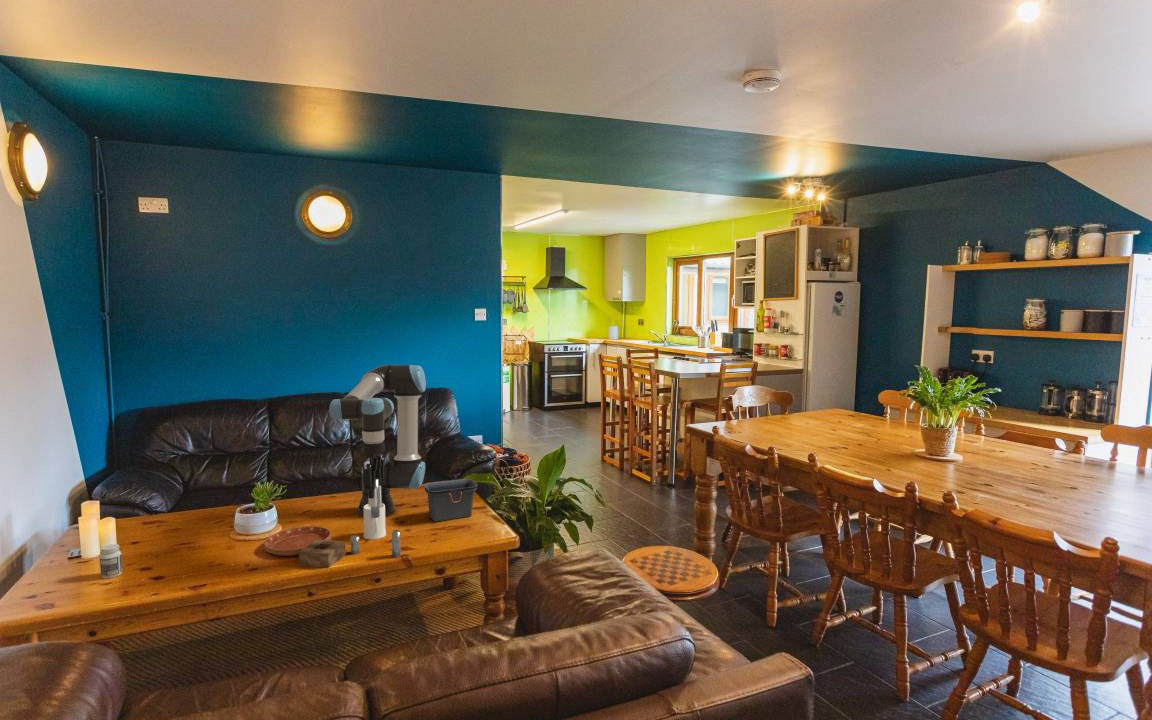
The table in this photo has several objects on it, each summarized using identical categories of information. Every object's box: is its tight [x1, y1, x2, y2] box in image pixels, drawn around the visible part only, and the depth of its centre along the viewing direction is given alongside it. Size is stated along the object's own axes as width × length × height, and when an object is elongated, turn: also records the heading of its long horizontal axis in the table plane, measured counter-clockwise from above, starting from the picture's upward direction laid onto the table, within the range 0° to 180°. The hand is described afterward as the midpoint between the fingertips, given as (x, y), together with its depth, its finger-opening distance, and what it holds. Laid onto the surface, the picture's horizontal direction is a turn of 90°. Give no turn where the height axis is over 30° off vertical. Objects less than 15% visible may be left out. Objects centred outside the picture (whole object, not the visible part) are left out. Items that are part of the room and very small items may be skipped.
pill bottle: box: [99, 543, 124, 580], centre depth 198 cm, size 6×6×10 cm
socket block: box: [298, 539, 346, 569], centre depth 212 cm, size 11×11×5 cm
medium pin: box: [391, 529, 402, 558], centre depth 217 cm, size 3×3×9 cm
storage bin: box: [423, 478, 478, 523], centre depth 256 cm, size 21×16×14 cm
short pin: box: [350, 534, 361, 555], centre depth 219 cm, size 3×3×6 cm
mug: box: [363, 503, 387, 540], centre depth 234 cm, size 12×8×12 cm
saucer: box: [263, 525, 332, 557], centre depth 225 cm, size 23×23×4 cm
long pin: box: [371, 478, 380, 518], centre depth 216 cm, size 3×3×14 cm
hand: (375, 504), depth 217 cm, fingers closed on long pin, 3 cm apart
